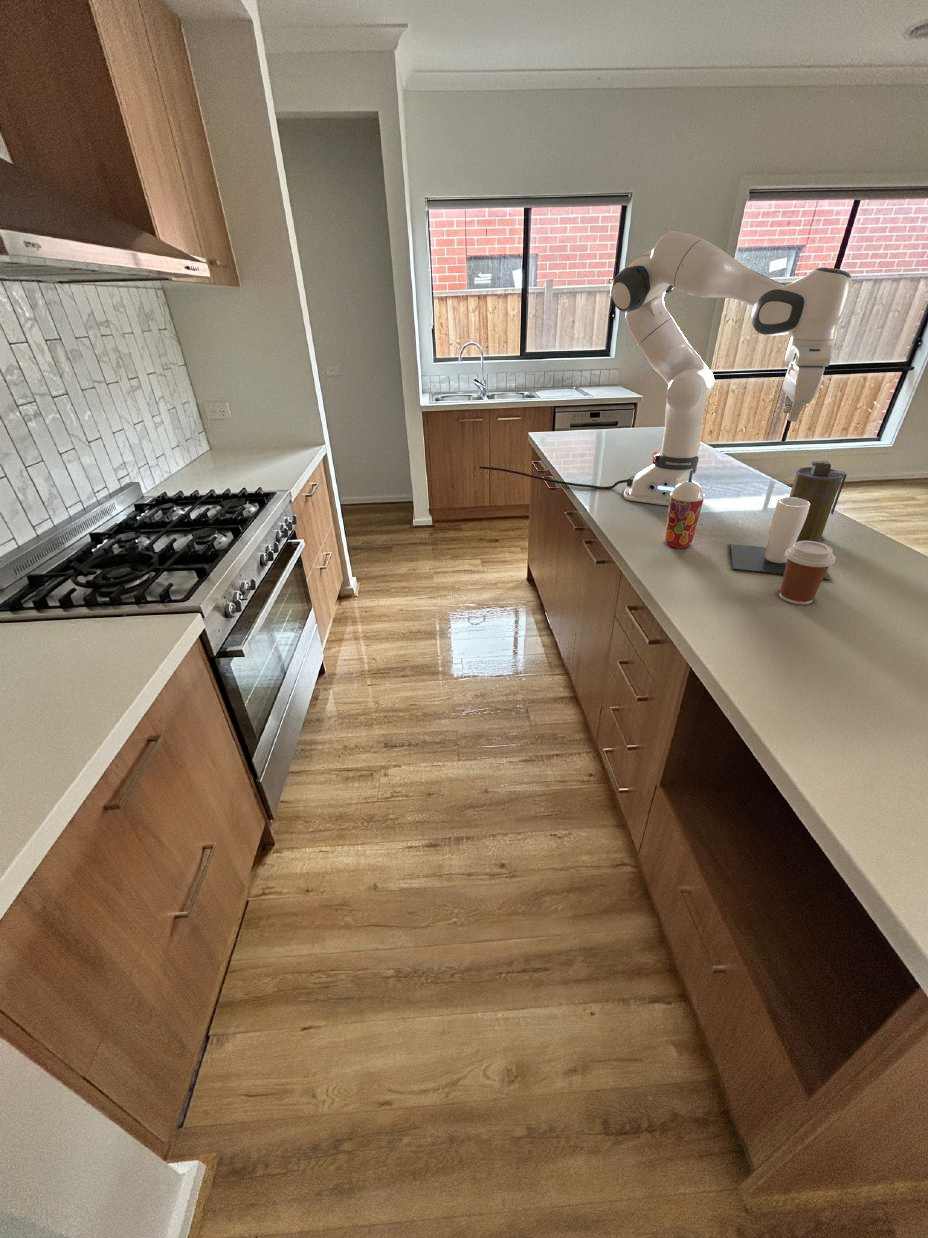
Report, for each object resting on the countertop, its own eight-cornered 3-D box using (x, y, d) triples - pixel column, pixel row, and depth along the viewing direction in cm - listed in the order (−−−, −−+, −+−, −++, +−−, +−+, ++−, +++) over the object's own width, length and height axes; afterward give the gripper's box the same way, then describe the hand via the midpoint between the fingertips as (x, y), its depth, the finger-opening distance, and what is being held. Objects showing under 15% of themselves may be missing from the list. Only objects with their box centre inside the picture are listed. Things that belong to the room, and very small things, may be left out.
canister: (780, 541, 137) (803, 466, 127) (775, 527, 145) (796, 455, 135) (827, 545, 134) (854, 469, 123) (819, 530, 142) (844, 457, 131)
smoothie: (693, 539, 141) (708, 466, 130) (694, 551, 134) (710, 476, 124) (661, 536, 143) (674, 465, 133) (661, 548, 137) (674, 474, 126)
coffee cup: (764, 587, 117) (779, 538, 110) (805, 586, 116) (823, 537, 110) (784, 608, 109) (801, 556, 103) (828, 607, 108) (848, 555, 102)
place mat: (733, 569, 125) (733, 568, 124) (729, 545, 136) (730, 544, 136) (828, 580, 118) (828, 578, 118) (816, 553, 130) (816, 552, 130)
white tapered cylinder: (755, 555, 130) (771, 497, 122) (780, 553, 130) (798, 495, 122) (771, 566, 124) (789, 507, 116) (797, 564, 125) (817, 505, 117)
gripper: (786, 348, 126) (769, 408, 133) (799, 357, 110) (779, 425, 117) (815, 348, 124) (797, 409, 131) (833, 358, 108) (811, 426, 115)
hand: (789, 416), depth 124 cm, fingers open, 8 cm apart
